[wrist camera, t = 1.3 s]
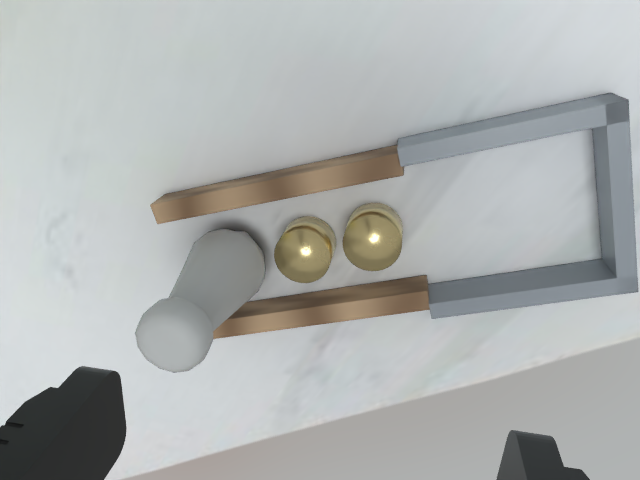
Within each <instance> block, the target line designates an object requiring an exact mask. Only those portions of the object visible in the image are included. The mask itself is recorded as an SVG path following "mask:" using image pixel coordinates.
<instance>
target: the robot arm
mask: <svg viewBox="0 0 640 480" xmlns="http://www.w3.org/2000/svg"><path fill="white" fill-rule="evenodd" d="M125 437H126V420H125V411H124V403H123V394H122V386H121V379H120V375H119V374H118V372H116V371H111V370H104V369H98V368H91V367H85V366H81V367H79V368H77V369H76V370H75V371H74V372H73V373H72V374H71V375H70V376H69V377H68V378H67V379H66V380H65V381H64V382H63V383H62V385H61V386H60V387H59V388H53V387H50V388H48V389H46V390H45V391H43V392H41V393H39V394H38V395H36V396H34V397H33V398H31V399H29V400H28V401H26V402H25V403H24V404H23V405H22V406H21V407H20V408H19V409H18V410H17V411H16V412H15V413H14V414H13V415H12V416H11V417H10V418H9V419H8V420H7V421H6V424H5V426H3V425H2V426H1V427H0V480H104V479H105V477H106V476H107V474H108V473H109V471H110V470H111V468H112V467H113V465H114V463H115V462H116V460H117V459H118V457H119V455H120V453H121V451H122V448H123V445H124V442H125ZM497 480H590V479H589V478H588V477H587V476H586V474H585V473H584V472H583V471H582V470H580V469H574V468H568V467H564V466H563V463H562V460H561V457H560V454H559V451H558V448H557V445H556V442H555V440H554V438H553V437H551V436H547V435H540V434H534V433H527V432H520V431H514V430H511V431H510V433H509V435H508V437H507V441H506V445H505V449H504V453H503V456H502V460H501V464H500V468H499V472H498V476H497Z"/></svg>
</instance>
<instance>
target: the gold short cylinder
mask: <svg viewBox="0 0 640 480" xmlns="http://www.w3.org/2000/svg"><path fill="white" fill-rule="evenodd" d="M335 247H336V238H335V235H334V232H333V231H332V229H331V228H330V226H329V225H328V224H327V223H325V222H324V221H322V220H321V219H318V218H315V217H310V216H306V217H300V218H297V219H295V220H294V221H292V222H291V223H290V224H289V225H288V226H287V228H286V230H285V231H284V233H283V235H282V236H281V238H280V240H279V241H278V243H277V245H276V247H275V252H274V258H275V262H276V265H277V267H278V269H279V270H280V271H281V273H282V274H283V275H284V276H286V277H287V278H289V279H290V280H293V281H295V282H299V283H310V282H314V281H316V280H318V279H320V278H321V277H322V276H324V274H325V273H326V272H327V270H328V268H329V265H330V262H331V259H332V257H333V254H334V251H335Z"/></svg>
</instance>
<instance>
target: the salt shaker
mask: <svg viewBox="0 0 640 480" xmlns="http://www.w3.org/2000/svg"><path fill="white" fill-rule="evenodd" d="M264 276H265V263H264V256H263V253H262V249H261V248H260V247H259V246H258V245H257V244H256V242H255V241H254V240H253V239H252V238H251V237H250V236H249V234H248V233H247V232H244V231H232V230H228V229H221V230H215V231H210V232H208V233H206V234H205V235H203V236H202V237H201V238H200V239H199V240H197V241H196V242H195V243H194V244H193V247H192V249H191V251H190V253H189V256H188V258H187V260H186V262H185V265H184V267H183V269H182V271H181V273H180V275H179V277H178V279H177V281H176V283H175V286H174V288H173V290H172V292H171V294H170V296H169V298H167V299H162V300H159V301H158V302H157V303H155V304H154V305H153V306H152V307H150V308H149V309H148V310H147V311H146V312H145V313H144V314H143V316H142V318H141V319H140V321H139V324H138V327H137V329H136V332H135V335H136V340H137V345H138V348H139V349H140V351H141V352H142V354H143V355H144V357H145V358H146V360H148V361H149V362H151V363H152V364H154V365H155V366H157V367H158V368H160V369H163V370H167V371H170V372H173V373H176V372H184V371H189V370H190V369H192V368H193V367H195V366H196V365H198V364H199V363H200V362H201V361H202V360H204V359H205V357H206V355H207V353H208V351H209V348H210V346H211V344H212V341H213V331H214V330H215V329H216V328H218V327H219V326H220V325H221V324H222V323H223V322H224V321H225V320H227V319H228V318H229V317H230V316H231V315H232V314H233V313H234V312H236V311H237V310H238V309H239V308H240V307H241V306H242V305H243V304H244V303H246V302H247V301H248V300H249V299H250V298H251V297H252V296H253V295H255V294H256V293H257V292H258V290H259V288H260V286H261V284H262V281H263V279H264Z"/></svg>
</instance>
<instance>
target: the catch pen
mask: <svg viewBox="0 0 640 480" xmlns="http://www.w3.org/2000/svg"><path fill="white" fill-rule="evenodd" d="M591 128H592V131H593V144H594V157H595V171H596V184H597V197H598V211H599V224H600V237H601V251H602V259H597V260H591V261H584V262H577V263H570V264H563V265H557V266H550V267H543V268H536V269H529V270H523V271H516V272H509V273H502V274H495V275H488V276H482V277H475V278H468V279H461V280H454V281H448V282H441V283H434V284H428V291H429V308H430V313H431V317H432V319H435V318H443V317H451V316H458V315H466V314H474V313H481V312H489V311H496V310H504V309H512V308H519V307H527V306H535V305H542V304H550V303H557V302H565V301H573V300H580V299H588V298H596V297H603V296H611V295H618V294H626V293H634V292H638V278H637V258H636V238H635V219H634V199H633V179H632V160H631V140H630V120H629V101H628V99H625V98H623V97H620V96H618V95H615V94H613V93H607V94H603V95H598V96H593V97H589V98H584V99H579V100H575V101H570V102H565V103H561V104H556V105H551V106H547V107H542V108H538V109H533V110H528V111H524V112H519V113H514V114H510V115H505V116H500V117H496V118H491V119H487V120H482V121H477V122H473V123H468V124H463V125H459V126H454V127H449V128H445V129H440V130H435V131H431V132H426V133H422V134H417V135H412V136H408V137H403V138H399V139H398V146H397V150H398V155H399V160H400V165H401V167H403V166H408V165H413V164H418V163H423V162H428V161H432V160H437V159H442V158H447V157H452V156H457V155H462V154H467V153H472V152H477V151H482V150H487V149H492V148H497V147H502V146H507V145H512V144H517V143H521V142H526V141H531V140H536V139H541V138H546V137H551V136H556V135H561V134H566V133H571V132H576V131H581V130H586V129H591Z"/></svg>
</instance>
